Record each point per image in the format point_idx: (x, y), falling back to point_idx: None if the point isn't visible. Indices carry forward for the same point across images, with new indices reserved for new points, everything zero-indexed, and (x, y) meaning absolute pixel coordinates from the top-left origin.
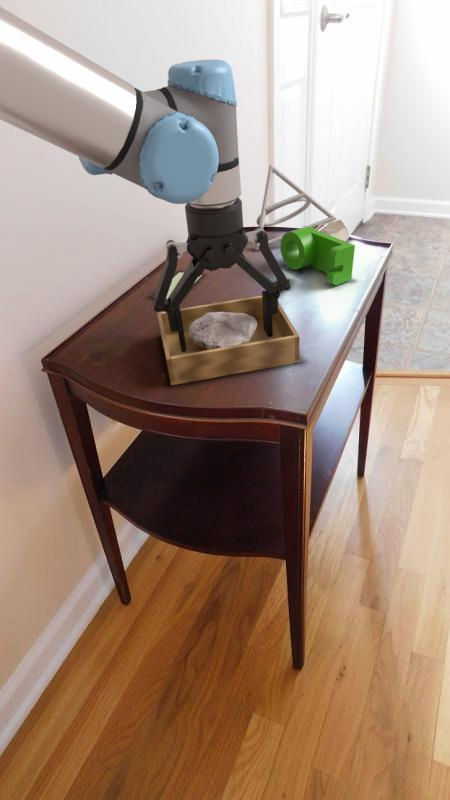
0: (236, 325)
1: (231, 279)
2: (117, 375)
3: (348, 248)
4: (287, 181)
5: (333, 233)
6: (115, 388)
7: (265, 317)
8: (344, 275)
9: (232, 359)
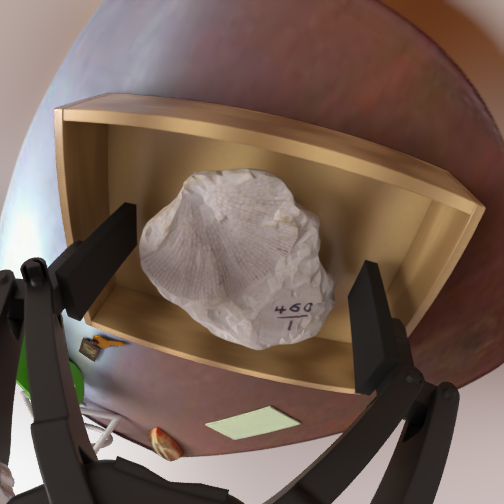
0: (201, 260)
1: (164, 399)
2: (495, 274)
3: None
4: None
5: None
6: None
7: (112, 249)
8: None
9: (279, 126)
